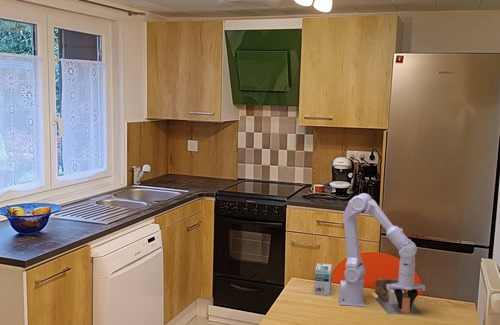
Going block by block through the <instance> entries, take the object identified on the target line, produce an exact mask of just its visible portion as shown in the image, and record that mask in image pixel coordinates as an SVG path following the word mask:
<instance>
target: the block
mask: <svg viewBox="0 0 500 325" xmlns="http://www.w3.org/2000/svg"><path fill="white" fill-rule="evenodd" d="M402 293H403V294H404V292H403V291H402ZM387 300H388V301H389V303H390V304H398V302H397V298H396V295H395V293H394V290H388V291H387ZM409 310H410V297H409V296H405V295H403V299H402V309H399V311H400V312H401V313H409Z"/></svg>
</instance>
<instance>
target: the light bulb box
mask: <svg viewBox="0 0 500 325" xmlns="http://www.w3.org/2000/svg"><path fill="white" fill-rule="evenodd" d="M314 272H315V274H314V276H315V278H314V295H319V294H321V295H320V296H328V295H330V296H331V293H332V284H333V283H332V282H333V281H332V279H333V278H332V277H333V264H332V263H323V262H322V263H320V262H317V263H316V266H315V271H314Z"/></svg>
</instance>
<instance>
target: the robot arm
mask: <svg viewBox="0 0 500 325" xmlns="http://www.w3.org/2000/svg"><path fill="white" fill-rule="evenodd" d="M363 211H364V212H363ZM362 212H363V214H365V215H369V216H372V217H374V219H375V220H376V221H377V222H378V223H379V225H381V226H382V228H383V229H384V230H385V231H386V232H385V235H386V238H388V240H389V241H390V242H391V243H392V245H393V246H394V247H395V248H396V249H397V250H398V255H399V257H400V259H399V266H398V279H399V280H398V283H394V284H387V286H386V289H387V290H394V293H395V295H396V298H397V302H398V308H399V309H402V299H403V295H404V294H403V293H402V290H405V291H406V292H407V293H408V296H409V297H410V309H411V307H412V304H414V301H415V299H416V298H417V297H418V295H419V292H418V291H422V292H425V291H426V285H424V284H422V283H421V284H420V283H419V284H418V283H415V271H416V254H417V252H418V247H417V245H416V243H415V242H413V241H412V239H411V238H408V237H407V235H405V233H404V230H403V228H402V227H399V226H398V225H393V224H392V222H391V221H390V219H389V218H388V216H386V214H385V212H383V210H382V208H380V207H379V205H378V203H377V201H376V200H374V199H373V198H372V196H371V195H370V194H369V193H365V192H362V193H360V194H358V195H355V196H353V197H352V198H351V199H350V200H348V203H347V206H346V207H345V210H344V211H343V214H342V215H343V217H342V218H343V227H344V238H345V247H346V258H347V259H346V263H345V270H344V278H345V279H344V280H342V279H341V280H340V282H339V283H340V284H339V294H338V300H339V305H341V306H348V307H351V306H352V307H365V302H364V286H365V280H364V276H365V275H366V271H367V270H366V267H365V265H364V263H363V258H362V256H361V250H360V241H359V229H358V220H357V218H358V217H359V215H360V214H362Z"/></svg>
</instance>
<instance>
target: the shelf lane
mask: <svg viewBox="0 0 500 325" xmlns="http://www.w3.org/2000/svg"><path fill="white" fill-rule="evenodd" d="M398 280H399V278H375V284H374V285H375V286H374V292H375V293H376V294H377V295H378V298H374V299H375V300H376V301H377V303H378V304H379V305H380V306H381V307H382V309H383V310H384V311H385V313H386V314H387V315H424V313H423V312H422V311H421V310H420V309H419V308H418V307H417V306H416V305H415V304H414V303H413V304H412V307H411V309H410V310H409V313H401V312H400V311H399V308H398V304H390V303H389V301H388V300H387V291H388V290H387V289H386V286H387V284H394V283H398ZM402 291H403V292H404V295H405V296H408V291H407V290H402Z"/></svg>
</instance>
